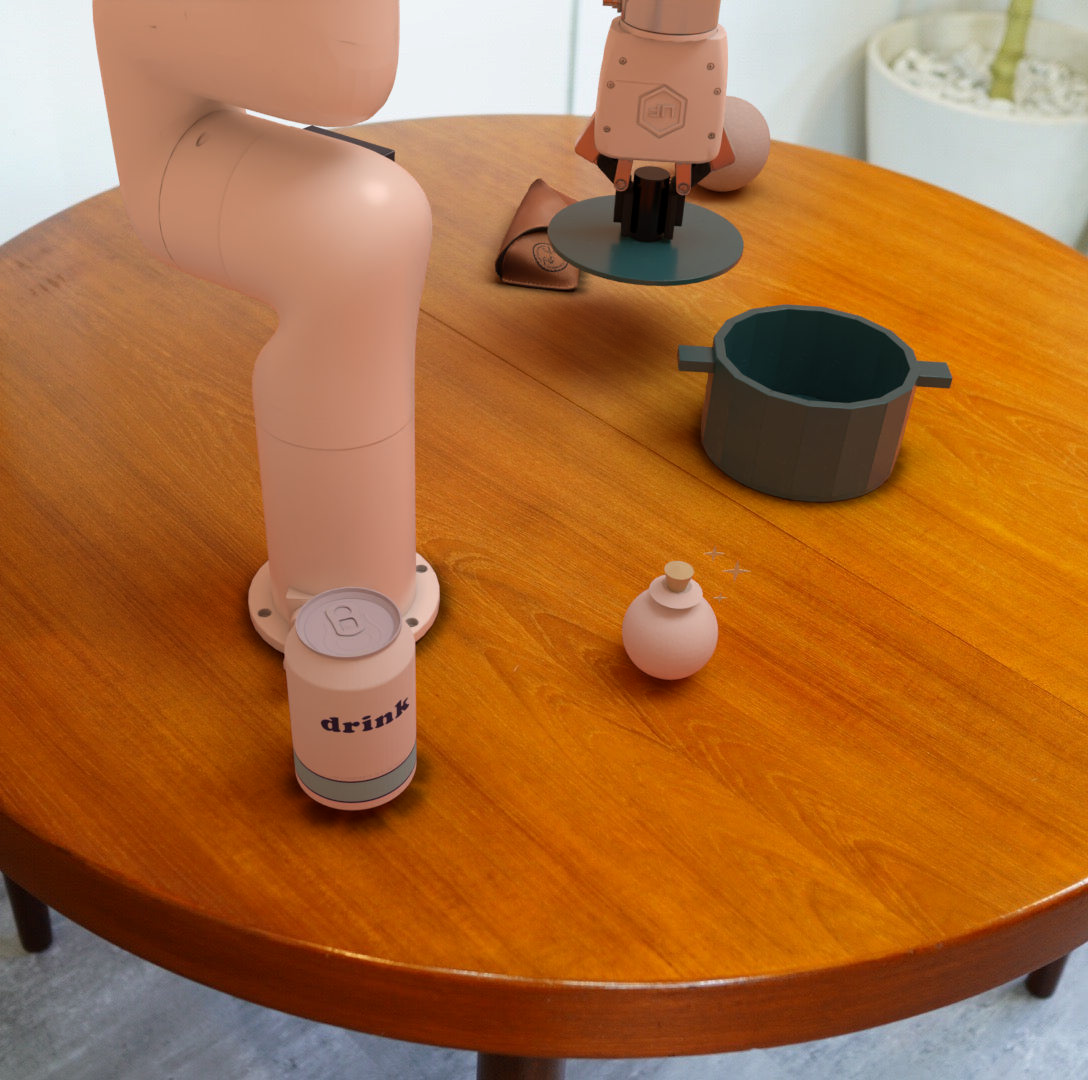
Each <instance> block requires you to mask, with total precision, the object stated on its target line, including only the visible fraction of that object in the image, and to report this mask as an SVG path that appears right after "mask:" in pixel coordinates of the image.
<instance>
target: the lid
mask: <svg viewBox="0 0 1088 1080" xmlns="http://www.w3.org/2000/svg"><path fill="white" fill-rule="evenodd" d="M670 180H671V173H670V172H669V170H667V169H666V168H664V167H663V168H662V167H659V166H654V165H652V166H651V165H646V166H640V167H637V168H636V169H634V171H633V179H632V181H633V193H634V194H633V205H632V215H631V225H630V235H627V237H621V223H617V222H613V215H614V203H615V194H609V195H608V194H607V195H601V196H600V195H599V196H596V197H590V198H586V199H583V200H579V201H578V202H576V203H574V204H571V205H569V206H567V207H565V208H564V209H562V210H561V211H559V212H558V213H557V214H556V215H555V216H554V217H553V218H552V220H551V221H550V223H549V226H548V241H549V243H550V246H551V247H552V249H553V250H554V252H555V253H556V254H557V255H558V256H559V257H560V258H562V259H563V260H564V261H566V262H567V263H569V264H570V265H572V266H574V267H576V268H578V269H580V270H581V271H582V272H584V273H586V274H589V275H591V276H595V277H598V278H601V279H605V280H608V281H613V282H616V283H617V282H618V283H624V284H627V285H628V284H629V285H637V286H645V287H646V286H647V287H674V286H675V287H676V286H685V285H686V286H687V285H692V284H698V283H703V282H706V281H710V280H713V279H715V278H718V277H721V276H722V275H724V274H726V273H729V271H731V270H732V269H734V268H735V267H736V266H737V265H738V264H739V263H740V261H741V259H742V257H743V254H744V248H745V242H744V238H743V236H742V234H741V232H740V231H739V229H738V228H737V227H736V226H735V225H734V224H733V223H732V222H731V221H729V220H728V219H727V218H725V217H724V216H722V215H720V214H719V213H717V212H715V211H713V210H711V209H708V208H706V207H703V206H702V205H698V204H696V203H692V202H690V201H689V202H688V201H685V204H684V212H683V221H682V226H681V227H680V226H674V233H673V240H667V239H666V238H664V226H665V217H666V209H667V200H668V191H669V183H670Z"/></svg>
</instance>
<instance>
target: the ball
mask: <svg viewBox="0 0 1088 1080" xmlns="http://www.w3.org/2000/svg"><path fill="white" fill-rule="evenodd" d="M724 127H725V129H726V132H727V134H728V137H729V139H730V142H731V144H732V147H733V149H734V153H735V158H736V159H735V162H734V163H733V164H731V165H728V166H726V167H724V168H721V169H719V170H717V171H713V172H710V173H709V174H708V175H707V176H706V177H705V178H704V179H702V180H701V181H700V182H699V183H697V184H696V185H699V186H700V187H702V188H704V189H707V190H710V191H712V192H721V193H723V192H731V191H735V190H738V189H741V188H744V187H745V186H747V185H748V184H750V183H751V182H753V181H754V180H755V179H756V178H757V177H758V176H759V175H760V173H761V172H762V170H763V169H764V168H765V166H766V163H767V162H768V158H769V156H770V150H771V133H770V128H769V124H768V122H767V120H766V118H765V116H764V115H763V114H762V112H761V111H760V110H759V108H757V107H756V106H755V105H754V104H752V103H750V102H749V101H748V100H745V99H743V98H741V97H737V96H733V95H726V103H725V114H724Z"/></svg>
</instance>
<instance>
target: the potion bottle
mask: <svg viewBox="0 0 1088 1080" xmlns="http://www.w3.org/2000/svg"><path fill="white" fill-rule="evenodd" d="M703 555H708V556H711V561H712V562H714V560H715V558H716V557H717V556H721V555H725V552H719V551H717V546H716V544H715V545H714V547H713V550H711V551H708V552H703ZM739 564H740V563H739V560H737V561H736V563H735V566H734V568H732V569H731V568H730V569H724V570H721V572H723V573H728V574H732V575H733V583H735V582H736V580H737V578H738V575H739V574H744V573H750V572H751V570H747V569H741V568H740V565H739ZM663 570H664V574H663V575H659V576H658V577H655V578H654V579H653V580H652V581H651V582H650V584H649V588H647V589H646V590H644V591H642V592H641V593H640V594H638V595H637V596H636V597H635V598H634V599H633V601H631V603H630V604H629V606H628V608H627V609H626V611H625V614H624V617H623V620H622V625H621V637H622V643H623V646H624V649H625V652H626V653H627V655H628V657H629V659H630V660H631V662H632V663H633V664H634V665H635V666H636V667H637V668H638V669H639V670H641V671H642V672H643V673H645V674H647V675H649V676H651V677H654V678H656V679H660V680H666V681H668V680H669V681H673V680H675V681H676V680H681V679H684V678H688V677H690V676H692V675H694V674H696V673H697V672H699V671H700V670H701V669H702V668H704V667H705V666H706V664H708V662H709V661H710V659H711V658H712V656H713V654H714V652H715V651H716V647H717V644H718V639H719V625H718V620H717V617H716V614H715V612H714V610H713V608H712V606H711V604H710V603H709V602H708V601H707V599H705V597H704V596H703V595H704V593H703V589H702V587H701V585H700V584H699V583H698V582H696V581H695V580H694V579H693V576H694V574H695V569H694V568H693V566H692V565H691V564H690V563H688V562H686V561H682V560H672V561H669V562H667V563H666V564H665V565H664V569H663ZM713 599H714V600H715V599H716V600H718V604H720V603H721V600H725V599H727V597H725V596H723V595H722V592H720V594H719V596H715V597H713Z"/></svg>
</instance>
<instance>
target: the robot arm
mask: <svg viewBox="0 0 1088 1080" xmlns="http://www.w3.org/2000/svg"><path fill="white" fill-rule="evenodd" d="M91 1H92V2H91V8H92V23H93V30H94V39H95V48H96V53H97V60H98V66H99V72H100V78H101V84H102V90H103V95H104V101H105V108H106V113H107V119H108V120H107V121H108V125H109V132H110V136H111V137H110V138H111V143H112V148H113V149H112V150H113V154H114V160H115V166H116V172H117V177H118V183H119V188H120V193H121V198H122V202H123V205H124V209H125V213H126V216H127V218H128V221H129V223H130V226H131V228H132V231H133V233H134V234H135V236H136V238H137V240H138V241H139V242H140V244H141V245H142V246H143V247H144V248H145V250H146V251H147V252H149V254H150V255H152V256H153V257H154V258H155V259H157V260H158V261H160V262H161V263H162V264H165V265H166V266H168V267H171V268H172V269H175V270H177V271H180V272H181V273H184V274H186V275H189V276H192V277H194V278H197V279H199V280H203V281H205V282H208V283H211V284H214V285H217V286H219V287H223V288H225V289H227V290H230V291H234V292H237V293H240V294H242V295H244V296H246V297H248V298H250V299H253V300H256V301H259V302H261V303H263V304H266V305H268V306H269V307H270V308H272V309H273V310H274V311H275V313H276V315H277V318H278V326H277V328H276V330H275V332H274V333H273V334H272V336H271V337H270V338H269V339H268V341H267V342H266V343H265V344H264V345H263V347H262V348H261V350H260V351H259V352H258V355H257V357H256V359H255V362H254V366H253V370H252V375H251V376H252V377H251V394H252V406H253V408H252V409H253V416H254V423H255V424H254V425H255V434H256V435H255V436H256V445H257V457H258V464H259V466H258V467H259V474H260V486H261V496H262V506H263V517H264V527H265V528H264V529H265V538H266V539H265V540H266V548H267V549H266V550H267V556H268V557H267V559H268V560H266V561H265V562H264V564H262V566H260V568H259V569H258V570H257V572H256V573H255V575H254V576H253V578H252V580H251V583H250V586H249V589H248V598H247V602H248V603H247V604H248V610H249V615H250V616H249V617H250V620H251V622H252V625H253V627H254V629H255V631H256V632H257V634H258V635H259V636H260V637H261V638H262V640H263V641H264V642H266V643H267V644H268V645H270V646H271V647H273V649H275V650H276V651H278V652H280V653H283V654H284V647H285V642H286V639H287V636H288V634H289V632H290V630H291V629H292V627H293V626H294V624H295V623H296V617H297V614H298V612H299V611H300V609H301V608H302V606H303V605H304V604H305V603H306V602H307V601H309V600H310V599H311V598H313V597H314V596H316V595H318V594H320V593H323V592H325V591H328V590H332V589H336V588H343V587H361V588H367V589H371V590H375V591H377V592H380V593H382V594H384V595H386V596H387V597H389V598H390V599H391V600H392V601H393V602H394V603H395V604H396V605H397V606H398V608H399V610H400V612H401V617H402V618H403V619H404V620H405V621H406V623H407V624H408V625H409V627H410V628H411V630H412V633H413V635H414V639H415V643H416V642H417V641H419V640H420V639H421V638H422V637H424V636H425V635H426V634H427V632H428V631H429V630H430V628H431V627H432V626H433V624H434V622H435V620H436V618H437V616H438V613H439V608H440V602H441V597H440V595H441V593H440V584H439V579H438V576H437V574H436V572H435V570H434V568H433V567H432V565H431V563H429V562H428V561H427V560H426V559H425V558H424V557H423V555H421V554H420V553H418V552H417V533H416V532H417V531H416V530H417V526H416V523H417V521H416V520H417V519H416V517H417V516H416V514H417V512H416V510H417V509H416V508H417V507H416V505H417V504H416V348H417V347H416V346H417V332H418V331H417V330H418V323H419V316H420V309H421V308H420V307H421V304H422V297H423V292H424V286H425V283H426V278H427V277H426V276H427V273H428V269H429V262H430V257H431V251H432V246H433V232H434V231H433V230H434V222H433V221H434V220H433V214H432V209H431V205H430V202H429V199H428V197H427V195H426V193H425V191H424V190H423V188H422V186H421V185H420V184H419V182H418V181H417V180H416V178H414V177H413V176H412V174H410V173H409V172H408V170H406V169H405V168H404V167H403V166H401V165H399V164H398V163H397V162H396V161H395V162H394V161H392V160H390V159H388V158H386V157H384V156H382V155H380V154H378V153H376V152H374V151H372V150H370V149H367V148H364V147H361V146H359V145H356V144H353V143H350V142H346V141H343V140H340V139H336V138H332V137H329V136H325V135H322V134H318V133H315V132H311V131H308V130H305V129H303V128H301V127H296V126H293V125H287V124H284V123H280V122H276V121H274V120H270V119H266V118H263V117H259V116H256V115H253V114H249V113H247V110H248V111H251V112H255V113H259V114H262V115H265V116H269V117H273V118H276V119H281V120H284V121H287V122H288V121H289V122H293V123H297V124H302V125H306V126H311V125H313V126H316V127H320V128H347V127H352V126H355V125H358V124H360V123H364V122H366V121H368V120H370V119H372V118H373V117H374V116H375V115H376V114H377V113H378V112H379V111H380V110H381V109H382V108H383V107H384V106H385V105H386V103H387V101H388V100H389V98H390V95H391V93H392V91H393V88H394V86H395V81H396V77H397V72H398V65H399V57H400V56H399V55H400V38H401V35H400V33H401V32H400V31H401V29H400V27H401V25H400V24H401V22H400V20H401V19H400V18H401V17H400V16H401V15H400V12H401V11H400V0H91ZM721 2H722V0H602V6H603V7H611V9H615V10H616V13H617V14H620V15H617V16H615V17H613V19H612V20H611V23H610V26H609V28H608V31H607V32H608V33H607V35H606V40H605V43H604V49H603V56H602V60H601V65H600V71H599V77H598V84H597V94H596V101H595V102H596V103H595V110H594V112H593V113H592V115H591V116H590V117H589V120H588V121H587V122H586V124H585V126H583V128H582V130H581V132H580V133H579V135H578V136H577V137H576V139H575V142H574V152H575V153H576V155H577V156H579V157H581V158H583V159H584V160H586V161H588V162H590V163H591V164H593V165H595V166H597V167H598V169H599V170H600V171H601V173H603V175H604V176H605V177H606V178H607V180H609V181H610V183H611V184H612V185H613V187H614V189H615V192H614V195H615V203H614V215H613V222H617V223H621V237H627V235H630V225H631V215H632V205H633V194H634V193H633V179H632V169H633V165H634V161H643V162H656V163H657V162H658V163H672V164H673V163H674V175H673V176H672V177H670V183H669V191H668V200H667V209H666V217H665V226H664V238H666V239H667V240H673V233H674V226H680V227H681V226H682V221H683V212H684V204H685V202H686V196H687V195H689V194H690V192H691V190H692V189H693V188H694V187H695V186H696V185H698V184H697V183H699V182H700V181H701V180H702V179H704V178H705V177H706V176H707V175H708V174H709V173H710V172H713V171H717V170H719V169H721V168H724V167H726V166H728V165H731V164H733V163H734V162H735V159H736V158H735V153H734V149H733V147H732V144H731V142H730V139H729V137H728V134H727V132H726V129H725V127H724V114H725V103H726V96H727V86H728V69H729V46H728V33H727V31H726V29H725V28H724V26H723V25H722V24H720V23H719V19H720V11H721V4H722V3H721ZM282 665H283V670H285V671H286V665H285V657H283V662H282Z"/></svg>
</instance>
